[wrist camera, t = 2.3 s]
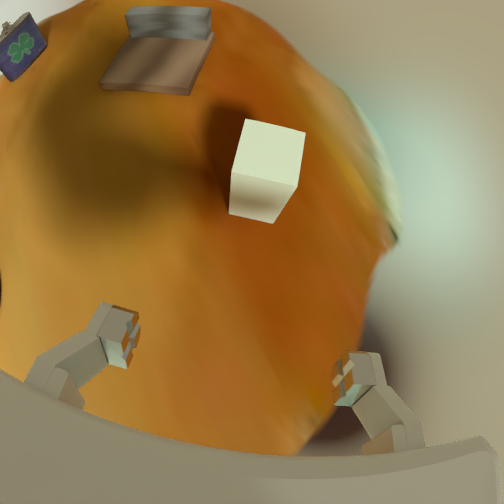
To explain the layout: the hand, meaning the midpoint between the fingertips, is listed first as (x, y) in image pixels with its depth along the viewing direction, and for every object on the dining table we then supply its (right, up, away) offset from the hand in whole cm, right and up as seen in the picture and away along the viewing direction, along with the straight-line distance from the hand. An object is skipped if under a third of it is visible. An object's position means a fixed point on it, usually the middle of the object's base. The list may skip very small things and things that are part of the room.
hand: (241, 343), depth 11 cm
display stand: (-12, +28, +20) cm, 36 cm away
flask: (-37, +35, +19) cm, 54 cm away
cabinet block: (+1, +9, +18) cm, 20 cm away
